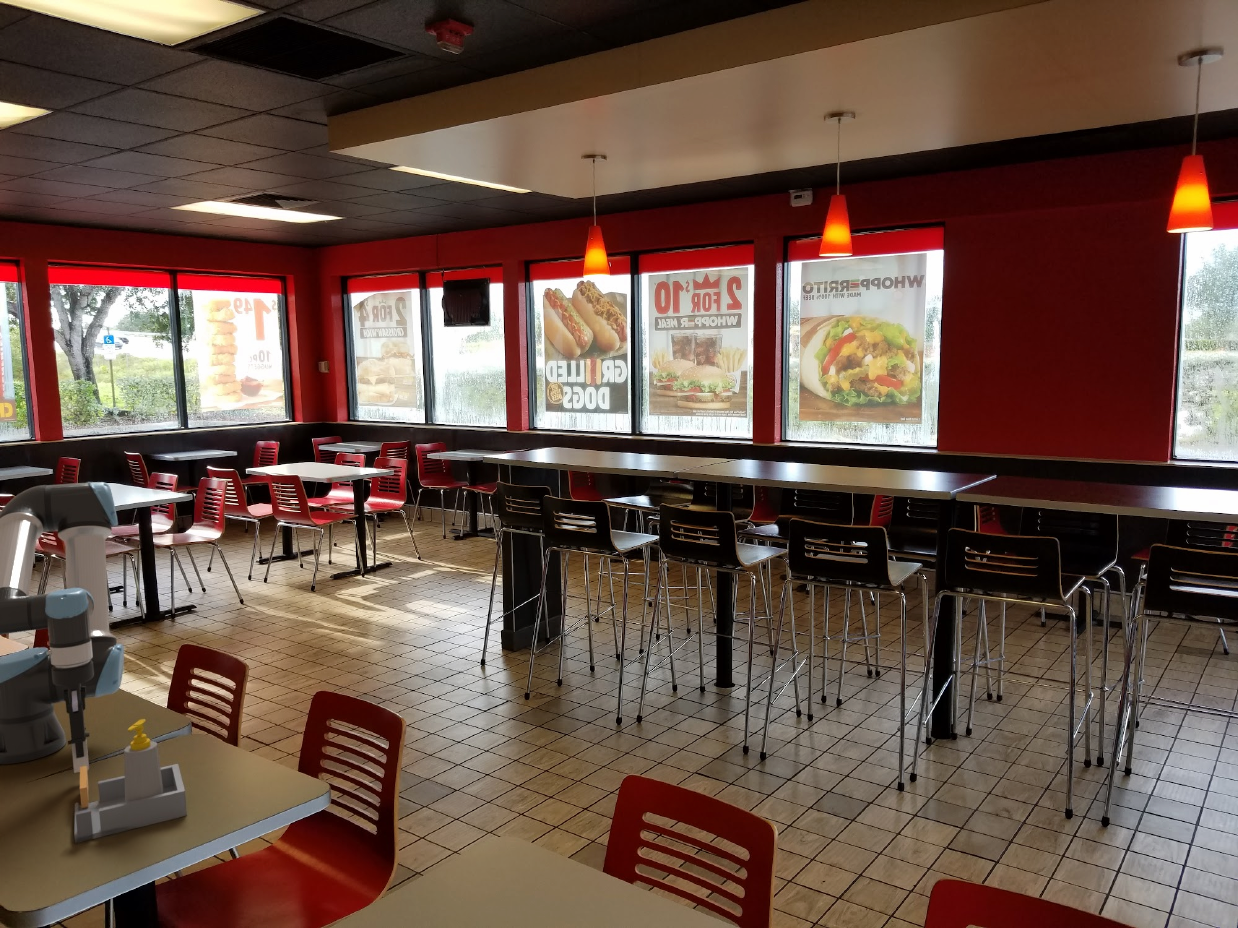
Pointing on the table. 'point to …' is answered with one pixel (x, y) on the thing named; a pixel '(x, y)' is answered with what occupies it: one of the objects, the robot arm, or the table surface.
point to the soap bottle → (141, 766)
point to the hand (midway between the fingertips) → (81, 769)
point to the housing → (129, 807)
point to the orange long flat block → (84, 787)
